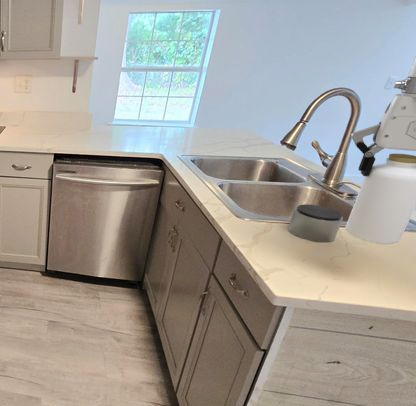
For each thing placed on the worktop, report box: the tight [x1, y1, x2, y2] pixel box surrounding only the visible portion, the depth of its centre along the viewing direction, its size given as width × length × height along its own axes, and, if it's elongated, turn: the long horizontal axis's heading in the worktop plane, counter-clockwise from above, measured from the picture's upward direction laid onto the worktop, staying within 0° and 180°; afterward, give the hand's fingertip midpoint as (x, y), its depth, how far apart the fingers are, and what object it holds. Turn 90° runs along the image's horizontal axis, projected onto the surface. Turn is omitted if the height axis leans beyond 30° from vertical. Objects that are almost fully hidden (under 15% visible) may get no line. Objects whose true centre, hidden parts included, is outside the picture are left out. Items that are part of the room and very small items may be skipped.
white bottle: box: [344, 153, 416, 246], centre depth 75 cm, size 8×8×18 cm
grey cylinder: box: [287, 204, 344, 243], centre depth 101 cm, size 10×10×7 cm
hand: (395, 177), depth 73 cm, fingers closed on white bottle, 8 cm apart
